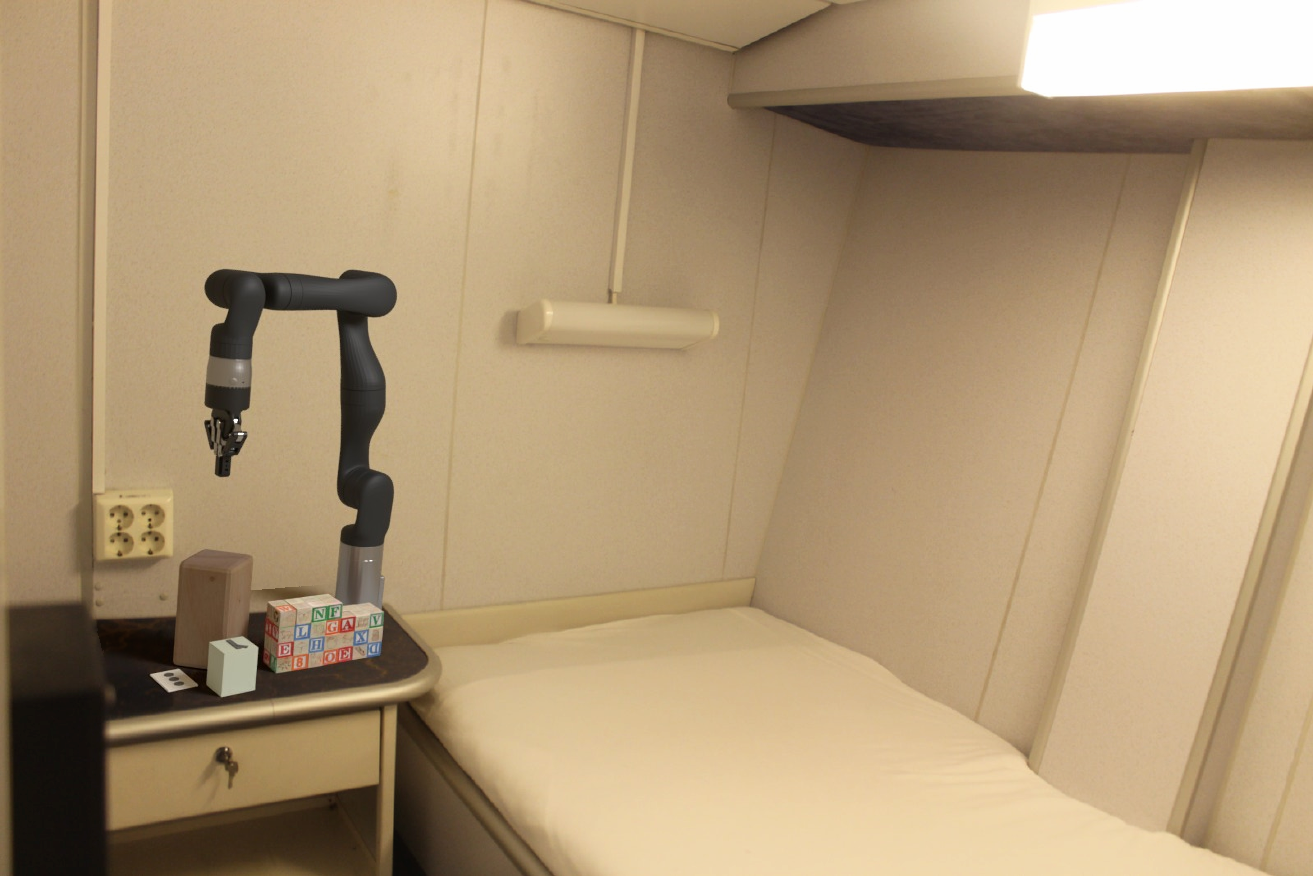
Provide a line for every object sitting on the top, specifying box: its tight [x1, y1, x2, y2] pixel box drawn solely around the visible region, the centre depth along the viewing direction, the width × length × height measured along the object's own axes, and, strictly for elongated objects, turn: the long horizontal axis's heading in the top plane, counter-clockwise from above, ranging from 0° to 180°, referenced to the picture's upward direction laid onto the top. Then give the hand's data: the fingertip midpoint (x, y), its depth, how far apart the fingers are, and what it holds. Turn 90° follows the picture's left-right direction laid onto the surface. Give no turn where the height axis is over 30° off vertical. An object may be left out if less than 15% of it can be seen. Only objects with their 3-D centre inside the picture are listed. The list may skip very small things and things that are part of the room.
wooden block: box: [172, 548, 254, 670], centre depth 183 cm, size 10×10×20 cm
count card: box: [149, 668, 199, 693], centre depth 174 cm, size 8×5×1 cm, turn 47°
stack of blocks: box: [262, 593, 385, 674], centre depth 191 cm, size 21×6×12 cm, turn 132°
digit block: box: [206, 636, 259, 698], centre depth 174 cm, size 6×6×8 cm
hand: (222, 476), depth 179 cm, fingers closed
